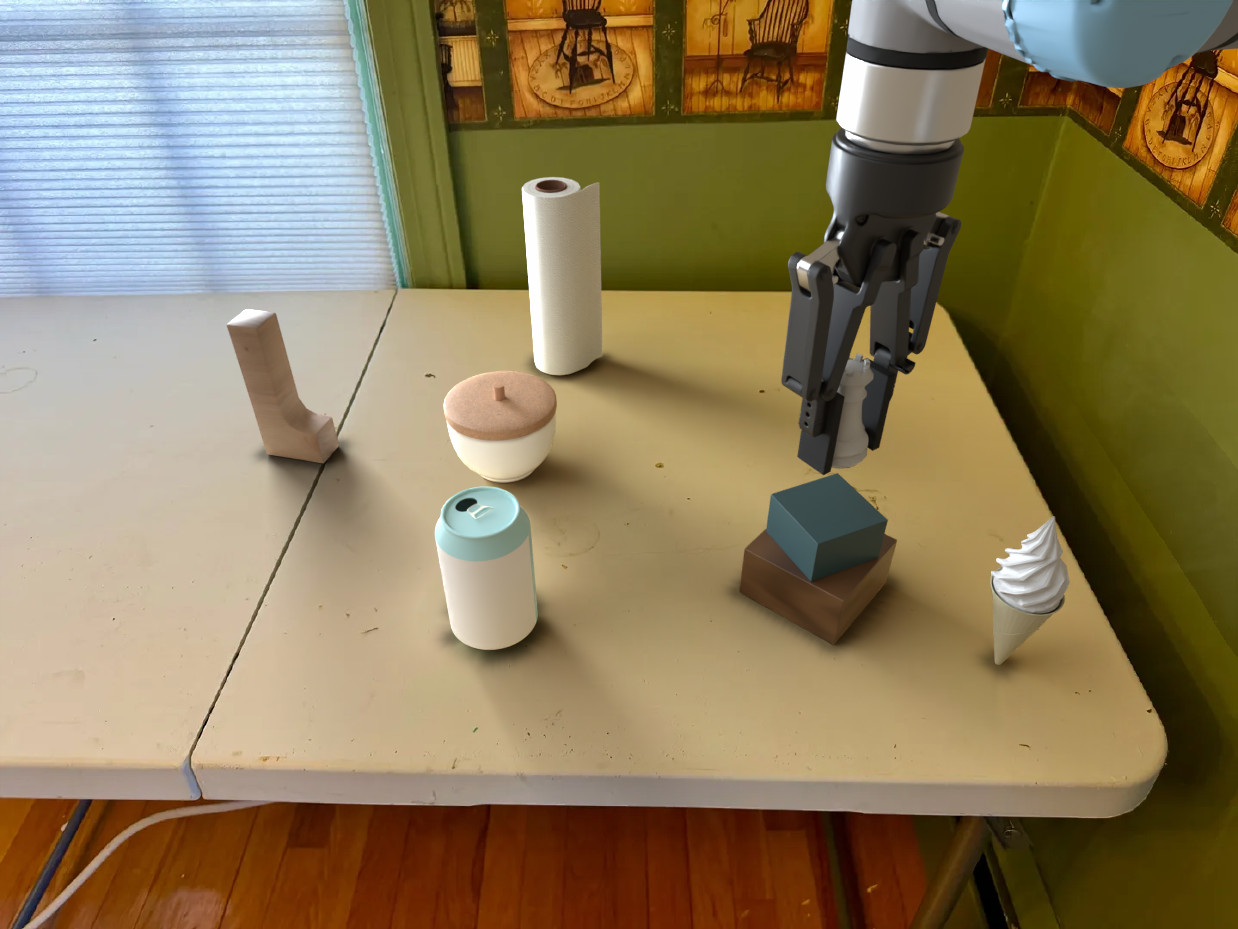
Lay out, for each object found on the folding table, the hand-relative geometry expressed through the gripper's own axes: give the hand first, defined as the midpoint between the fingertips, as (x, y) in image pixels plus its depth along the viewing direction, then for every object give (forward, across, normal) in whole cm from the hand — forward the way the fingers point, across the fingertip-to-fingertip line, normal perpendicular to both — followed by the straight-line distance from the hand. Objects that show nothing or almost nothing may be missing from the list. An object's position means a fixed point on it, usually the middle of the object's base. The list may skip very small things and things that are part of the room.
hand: (838, 451), depth 65 cm
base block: (+14, 0, 0) cm, 14 cm away
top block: (+9, 0, 0) cm, 9 cm away
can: (+15, +24, -12) cm, 31 cm away
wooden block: (+15, +29, -44) cm, 55 cm away
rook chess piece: (0, 0, 0) cm, 1 cm away
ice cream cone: (+15, -6, +14) cm, 21 cm away
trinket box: (+15, +13, -30) cm, 36 cm away
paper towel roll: (+15, -2, -43) cm, 45 cm away
